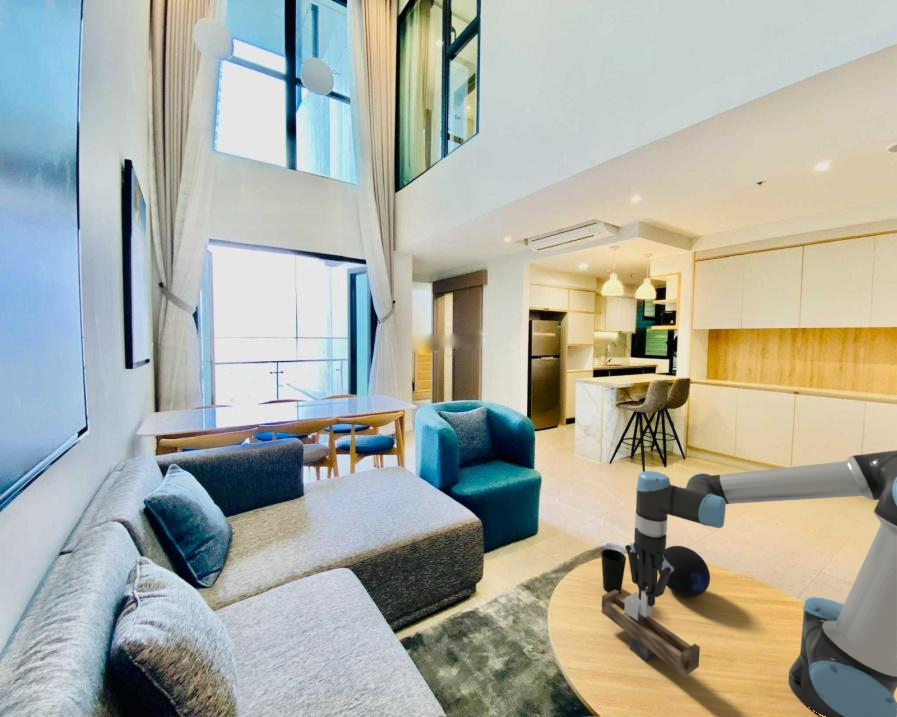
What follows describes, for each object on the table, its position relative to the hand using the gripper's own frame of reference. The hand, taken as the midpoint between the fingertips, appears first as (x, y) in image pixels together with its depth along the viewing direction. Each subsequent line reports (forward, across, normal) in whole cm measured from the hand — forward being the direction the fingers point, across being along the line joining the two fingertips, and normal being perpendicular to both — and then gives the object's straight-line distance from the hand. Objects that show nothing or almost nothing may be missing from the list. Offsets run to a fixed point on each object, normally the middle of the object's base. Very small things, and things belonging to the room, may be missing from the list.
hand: (645, 613), depth 103 cm
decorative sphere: (+11, +8, -34) cm, 37 cm away
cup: (+11, +21, -14) cm, 27 cm away
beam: (+11, 0, 0) cm, 11 cm away
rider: (+4, +3, 0) cm, 5 cm away
